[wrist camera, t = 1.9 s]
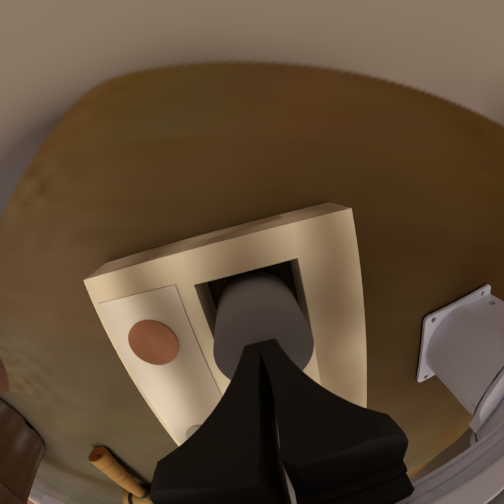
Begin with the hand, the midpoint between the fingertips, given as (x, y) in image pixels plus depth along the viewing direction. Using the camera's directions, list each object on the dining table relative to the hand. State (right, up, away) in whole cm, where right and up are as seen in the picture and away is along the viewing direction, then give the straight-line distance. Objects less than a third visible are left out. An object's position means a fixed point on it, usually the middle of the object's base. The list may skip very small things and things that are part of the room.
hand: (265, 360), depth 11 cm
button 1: (0, +1, +5) cm, 5 cm away
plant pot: (-36, -21, +11) cm, 43 cm away
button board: (0, -7, +9) cm, 12 cm away
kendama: (-15, -26, +14) cm, 33 cm away
